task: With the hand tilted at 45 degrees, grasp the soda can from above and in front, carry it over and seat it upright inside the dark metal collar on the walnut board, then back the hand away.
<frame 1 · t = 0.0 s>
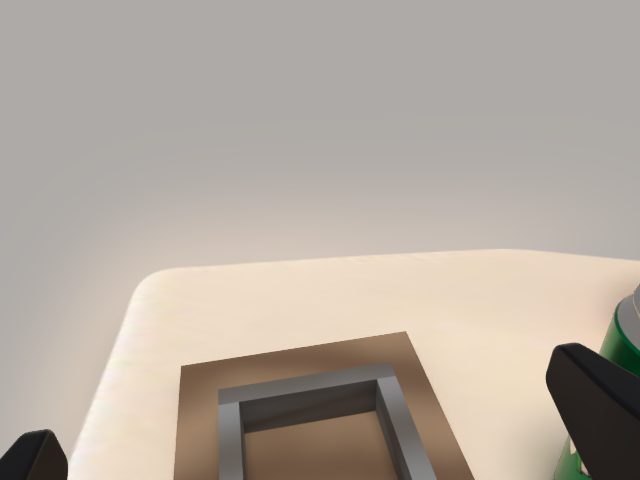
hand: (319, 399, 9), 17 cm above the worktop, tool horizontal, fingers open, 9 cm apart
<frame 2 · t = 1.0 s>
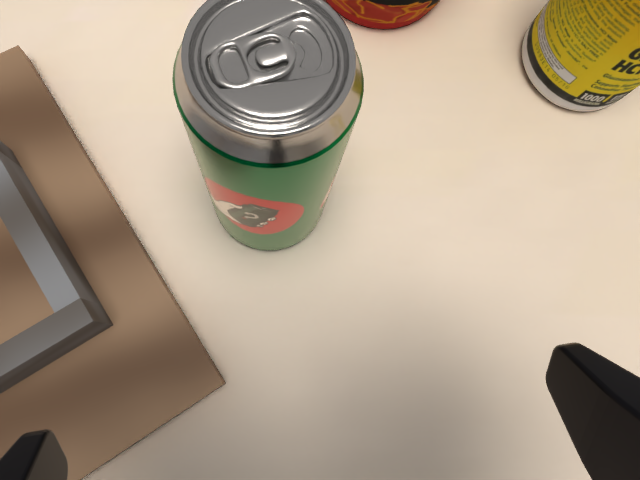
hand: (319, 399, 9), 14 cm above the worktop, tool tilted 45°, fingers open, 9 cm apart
soda can: (269, 201, 24), on the worktop
pill bottle: (570, 65, 28), on the worktop
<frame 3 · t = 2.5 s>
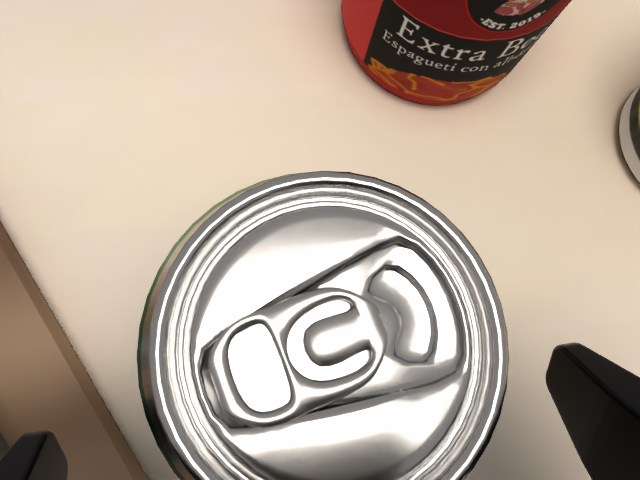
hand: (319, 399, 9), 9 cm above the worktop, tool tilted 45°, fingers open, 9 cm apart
canned food: (427, 27, 21), on the worktop
soda can: (291, 351, 18), on the worktop
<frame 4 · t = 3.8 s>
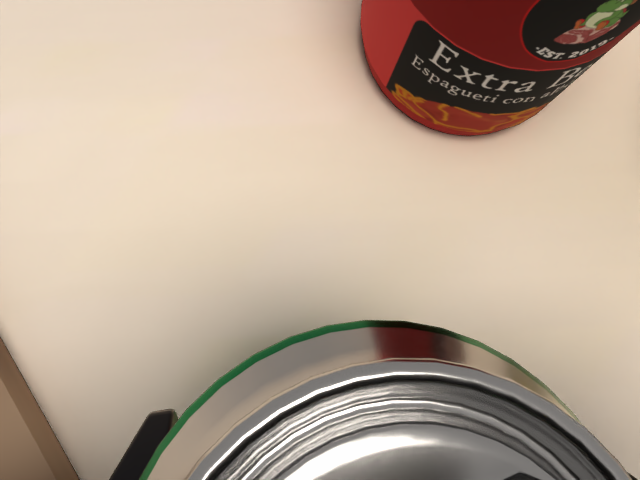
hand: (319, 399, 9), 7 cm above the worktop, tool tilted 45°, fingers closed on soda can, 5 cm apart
canned food: (456, 45, 19), on the worktop
soda can: (304, 426, 15), on the worktop, touching gripper
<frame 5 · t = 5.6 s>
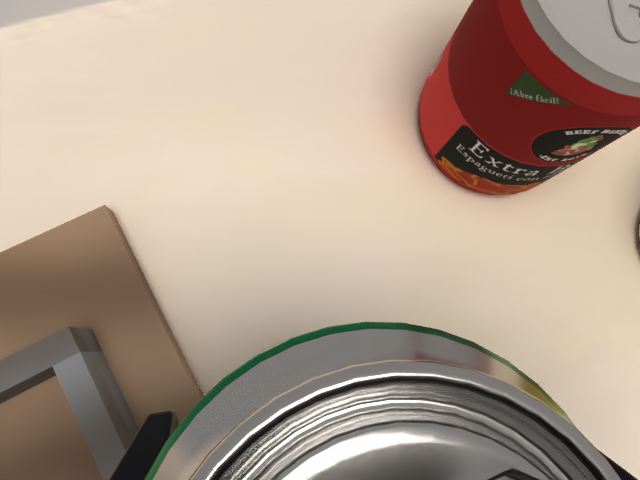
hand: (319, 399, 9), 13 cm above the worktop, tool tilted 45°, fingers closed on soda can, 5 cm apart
canned food: (486, 125, 26), on the worktop
soda can: (304, 422, 16), point 6 cm above the worktop, touching gripper
when the fingers open (9 cm above the worktop, at t = 7.7 s): soda can stays where it is, resting on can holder.
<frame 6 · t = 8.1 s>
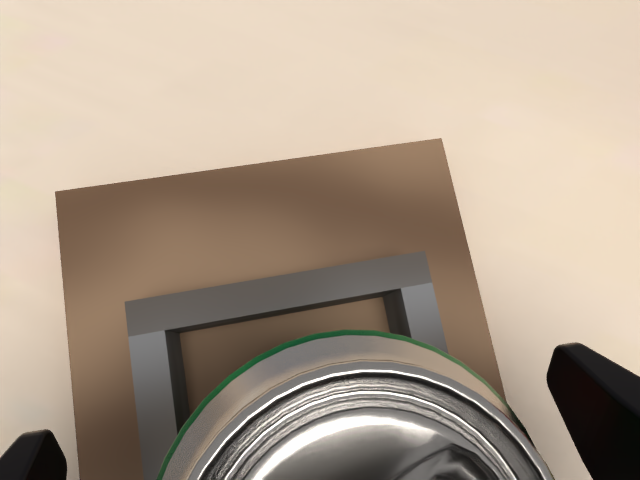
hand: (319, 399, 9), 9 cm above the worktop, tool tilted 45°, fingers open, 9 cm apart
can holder: (299, 416, 18), on the worktop
soda can: (301, 420, 17), point 1 cm above the worktop, touching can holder
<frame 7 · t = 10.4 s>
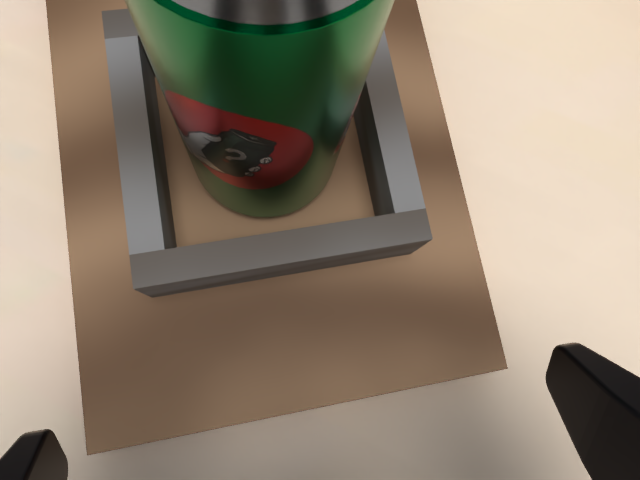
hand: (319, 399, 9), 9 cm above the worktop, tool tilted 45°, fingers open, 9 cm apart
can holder: (265, 165, 20), on the worktop
soda can: (264, 155, 19), point 1 cm above the worktop, touching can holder
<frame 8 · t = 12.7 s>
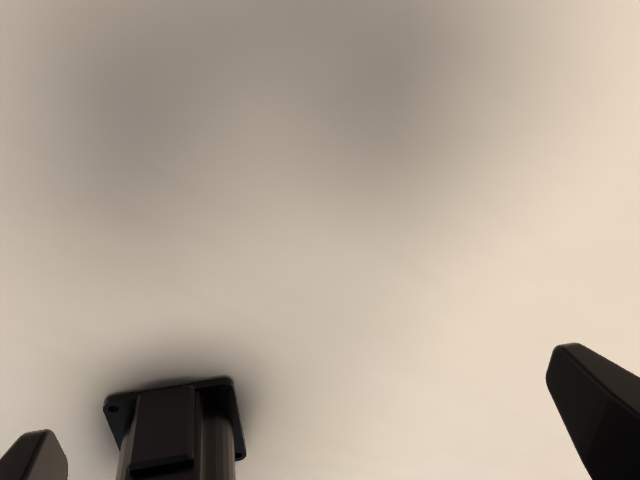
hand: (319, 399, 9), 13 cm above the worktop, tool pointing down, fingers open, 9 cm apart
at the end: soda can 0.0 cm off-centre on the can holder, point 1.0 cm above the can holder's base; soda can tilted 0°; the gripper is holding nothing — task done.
